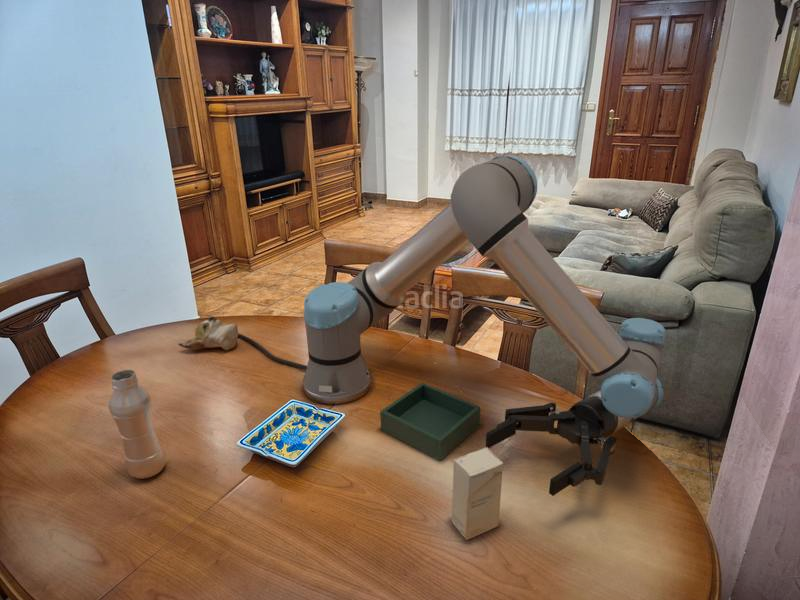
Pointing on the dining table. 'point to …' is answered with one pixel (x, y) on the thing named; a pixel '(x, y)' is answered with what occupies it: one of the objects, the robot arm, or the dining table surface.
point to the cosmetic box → (476, 492)
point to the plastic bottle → (136, 426)
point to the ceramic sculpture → (213, 335)
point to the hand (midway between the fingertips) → (517, 462)
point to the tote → (430, 420)
